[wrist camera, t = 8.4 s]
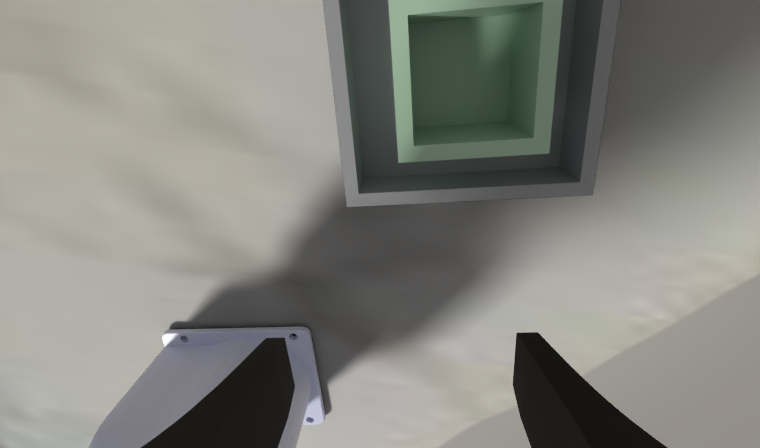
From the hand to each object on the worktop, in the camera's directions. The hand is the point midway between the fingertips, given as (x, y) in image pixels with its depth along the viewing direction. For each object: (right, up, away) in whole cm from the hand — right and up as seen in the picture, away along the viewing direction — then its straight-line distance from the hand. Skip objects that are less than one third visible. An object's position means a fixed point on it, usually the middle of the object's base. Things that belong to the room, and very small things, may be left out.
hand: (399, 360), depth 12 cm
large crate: (+3, +11, +6) cm, 13 cm away
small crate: (+3, +11, +5) cm, 13 cm away
